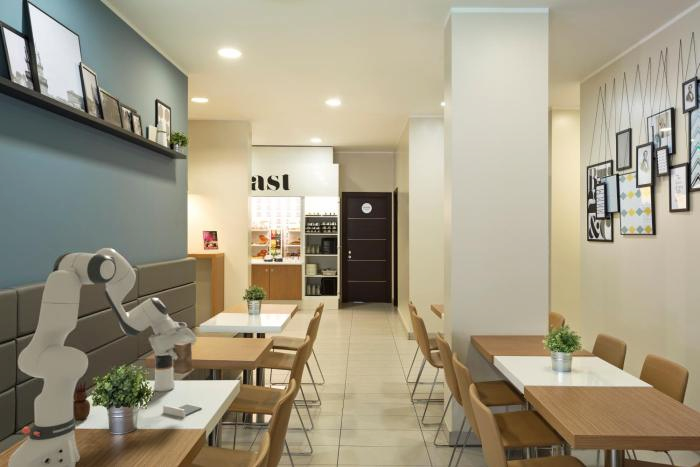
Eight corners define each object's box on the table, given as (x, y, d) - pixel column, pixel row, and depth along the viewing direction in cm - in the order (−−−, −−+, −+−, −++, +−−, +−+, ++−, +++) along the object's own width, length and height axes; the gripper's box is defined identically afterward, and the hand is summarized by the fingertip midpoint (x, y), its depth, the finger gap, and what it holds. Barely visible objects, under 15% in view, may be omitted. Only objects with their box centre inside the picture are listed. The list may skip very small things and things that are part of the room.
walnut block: (182, 374, 209) (181, 345, 209) (174, 372, 211) (173, 344, 211) (192, 370, 213) (191, 342, 213) (183, 369, 216) (182, 341, 215)
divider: (183, 417, 206) (183, 410, 206) (163, 412, 212) (163, 405, 212) (185, 416, 206) (184, 409, 206) (164, 412, 212) (164, 404, 212)
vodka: (172, 391, 239) (170, 328, 239) (151, 392, 238) (150, 329, 237) (176, 385, 248) (175, 324, 248) (156, 386, 247) (155, 325, 247)
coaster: (185, 416, 207) (185, 414, 207) (170, 412, 212) (170, 411, 212) (201, 409, 215) (201, 407, 215) (186, 405, 219) (186, 404, 219)
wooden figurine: (93, 416, 209) (92, 380, 209) (84, 421, 203) (83, 384, 203) (77, 415, 210) (76, 379, 209) (68, 421, 204) (67, 384, 204)
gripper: (150, 331, 206) (167, 358, 202) (188, 322, 224) (205, 346, 219) (143, 341, 208) (160, 368, 204) (181, 331, 226) (198, 355, 222)
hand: (183, 356), depth 212 cm, fingers closed on walnut block, 5 cm apart
